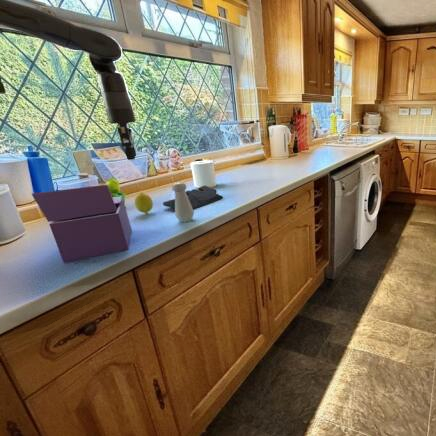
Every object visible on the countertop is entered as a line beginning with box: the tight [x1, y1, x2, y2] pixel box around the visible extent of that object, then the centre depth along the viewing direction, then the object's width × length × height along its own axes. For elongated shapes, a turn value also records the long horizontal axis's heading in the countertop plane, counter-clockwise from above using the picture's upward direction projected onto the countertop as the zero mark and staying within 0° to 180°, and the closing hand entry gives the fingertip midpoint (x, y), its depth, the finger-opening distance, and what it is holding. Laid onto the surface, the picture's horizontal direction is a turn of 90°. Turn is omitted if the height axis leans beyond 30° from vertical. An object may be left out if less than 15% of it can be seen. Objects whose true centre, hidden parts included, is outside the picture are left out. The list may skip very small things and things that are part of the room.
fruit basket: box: [104, 177, 126, 205], centre depth 120 cm, size 11×9×11 cm
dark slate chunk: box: [162, 186, 224, 210], centre depth 123 cm, size 15×22×5 cm
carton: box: [48, 196, 132, 264], centre depth 84 cm, size 17×14×11 cm
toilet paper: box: [190, 160, 218, 189], centre depth 150 cm, size 10×10×12 cm
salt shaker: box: [171, 182, 195, 223], centre depth 101 cm, size 6×6×13 cm
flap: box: [31, 184, 117, 223], centre depth 72 cm, size 8×14×1 cm
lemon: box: [134, 192, 154, 215], centre depth 111 cm, size 6×6×8 cm
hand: (132, 158), depth 103 cm, fingers open, 8 cm apart
